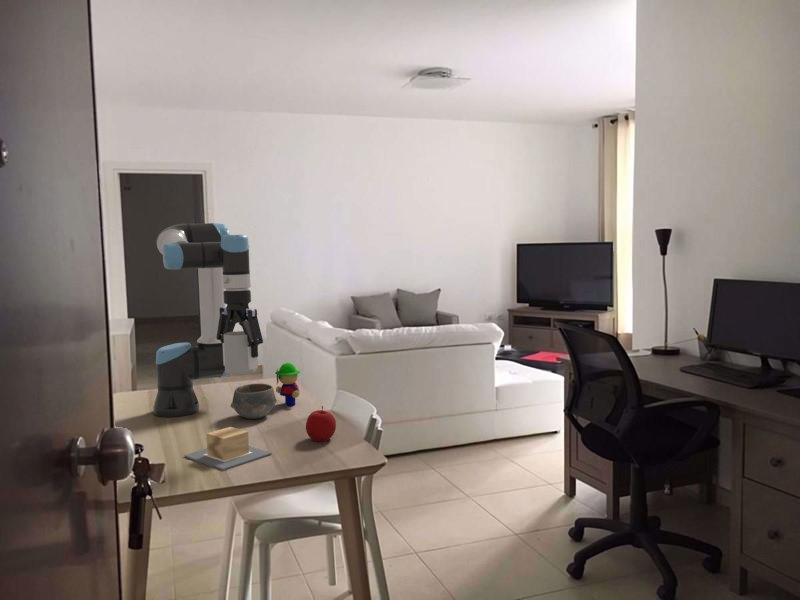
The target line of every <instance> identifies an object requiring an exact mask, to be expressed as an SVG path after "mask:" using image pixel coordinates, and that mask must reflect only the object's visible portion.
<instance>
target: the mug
mask: <svg viewBox="0 0 800 600" xmlns="http://www.w3.org/2000/svg"><path fill="white" fill-rule="evenodd" d="M252 341H253V340H252ZM248 345H249V343H248V340H247V335H245V333H244V331H243V330H242V331H240V330H237V331H233V332H228V333H225V334H224V356H225V373H227V374H232V375H247V374H251V373H254V372H256V369H257V368H256V369H251V370H249V369H248V349H247V346H248Z"/></svg>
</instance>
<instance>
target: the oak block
mask: <svg viewBox="0 0 800 600" xmlns="http://www.w3.org/2000/svg"><path fill="white" fill-rule="evenodd" d="M206 449H207V455H210V456H213V457H216V458H219V459H222V460H228V459H231V458H234V457H237V456H240V455H243V454H246V453H249V431H247V430H243V429H240V428H236V427H233V426H227V427H224V428H222V429H217V430H214V431H210V432H207V433H206Z"/></svg>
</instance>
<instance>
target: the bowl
mask: <svg viewBox="0 0 800 600" xmlns="http://www.w3.org/2000/svg"><path fill="white" fill-rule="evenodd" d="M277 401H278V400H277V399H276V395H275V390H274V387H273V386H272V385H271V384H268V383H250V384H244V385H240V386H237V387H236V388H235V390H234V392H233V397H232V401H231V403H230V408H232V409H233V410H234V411H235V412H236V414H238V416H241V417H243V418H245V419H250V420H257V419H260V418H263V417H265V416H267V415H268V414H269V413H271V411H272V409H273V408H274V406H275V405H276V403H277Z"/></svg>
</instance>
